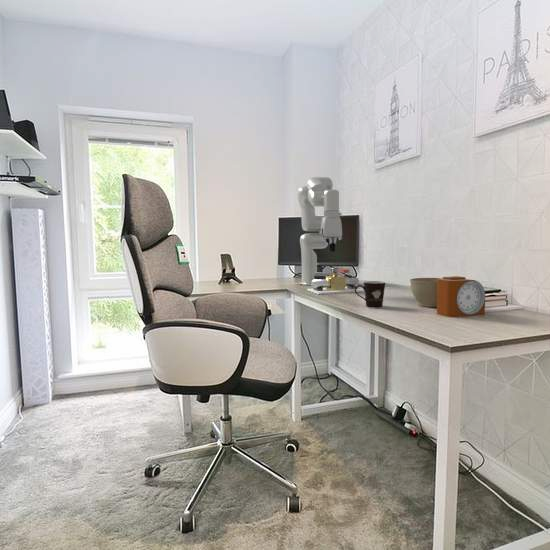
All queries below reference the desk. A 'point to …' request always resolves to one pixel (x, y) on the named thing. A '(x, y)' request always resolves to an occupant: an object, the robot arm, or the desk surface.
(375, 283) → the coffee mug
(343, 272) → the valve lever
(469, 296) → the alarm clock
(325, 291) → the board
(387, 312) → the desk surface
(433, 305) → the planter bowl
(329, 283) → the valve pipe
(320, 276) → the electrical switch
